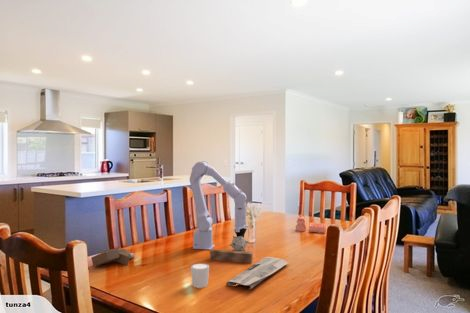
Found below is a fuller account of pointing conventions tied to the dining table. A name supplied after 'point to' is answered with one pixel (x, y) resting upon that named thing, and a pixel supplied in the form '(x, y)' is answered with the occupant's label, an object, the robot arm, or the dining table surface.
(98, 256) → the grey angled block
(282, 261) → the newspaper
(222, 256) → the batten
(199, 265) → the white short cylinder
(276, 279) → the dining table surface
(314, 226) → the pottery
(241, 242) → the game die
